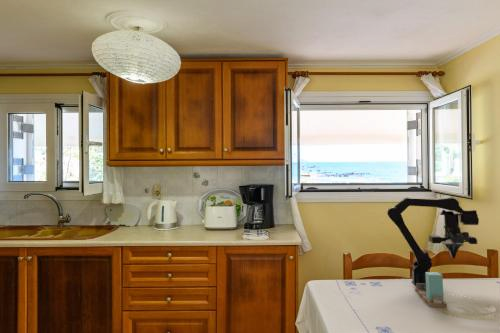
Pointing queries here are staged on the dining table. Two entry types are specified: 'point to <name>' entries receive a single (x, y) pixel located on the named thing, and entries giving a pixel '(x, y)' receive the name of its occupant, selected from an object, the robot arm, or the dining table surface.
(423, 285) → the cord board
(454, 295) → the dining table surface
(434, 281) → the teal rectangular block
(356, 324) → the dining table surface
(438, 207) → the robot arm
